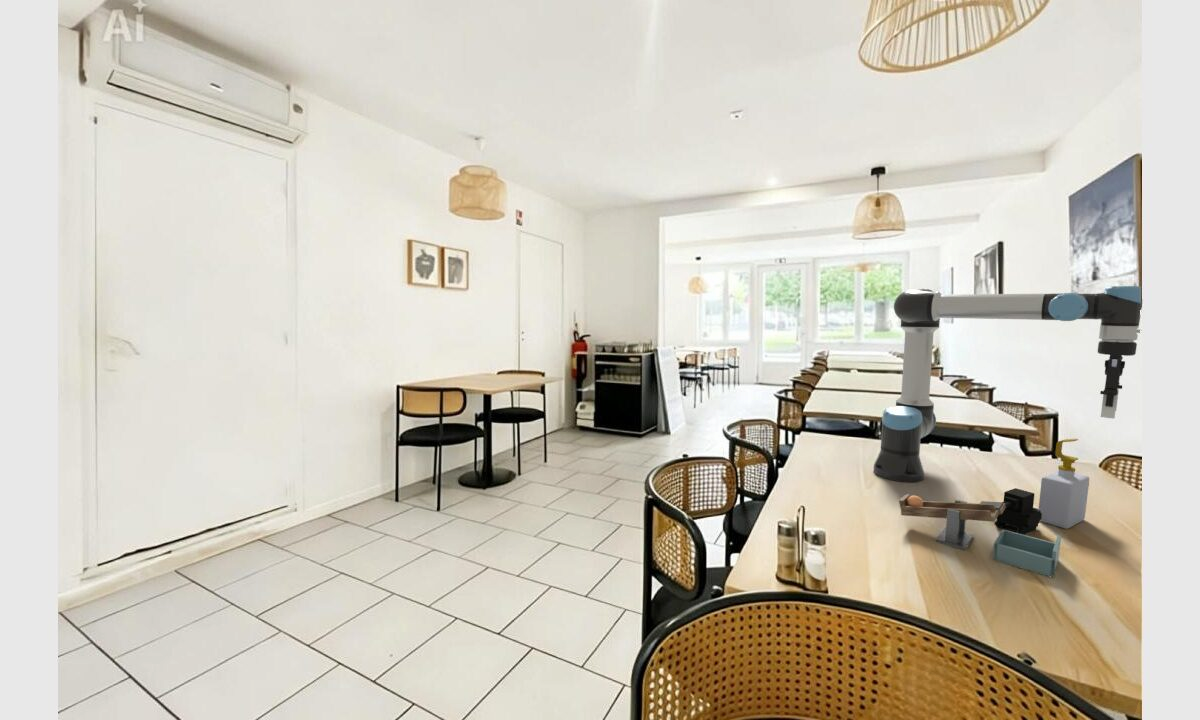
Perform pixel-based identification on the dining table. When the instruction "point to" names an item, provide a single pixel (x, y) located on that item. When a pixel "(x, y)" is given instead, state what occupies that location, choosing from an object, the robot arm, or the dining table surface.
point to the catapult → (967, 510)
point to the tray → (1027, 552)
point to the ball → (915, 501)
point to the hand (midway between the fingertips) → (1108, 413)
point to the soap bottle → (1063, 493)
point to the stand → (955, 530)
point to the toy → (1019, 511)
